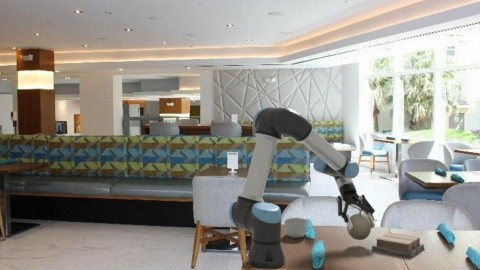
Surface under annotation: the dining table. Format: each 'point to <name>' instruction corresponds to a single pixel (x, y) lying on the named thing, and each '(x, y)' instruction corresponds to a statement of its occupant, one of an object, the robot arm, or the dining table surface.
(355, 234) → the fruit
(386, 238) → the stand
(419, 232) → the dining table surface
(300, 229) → the teacup
